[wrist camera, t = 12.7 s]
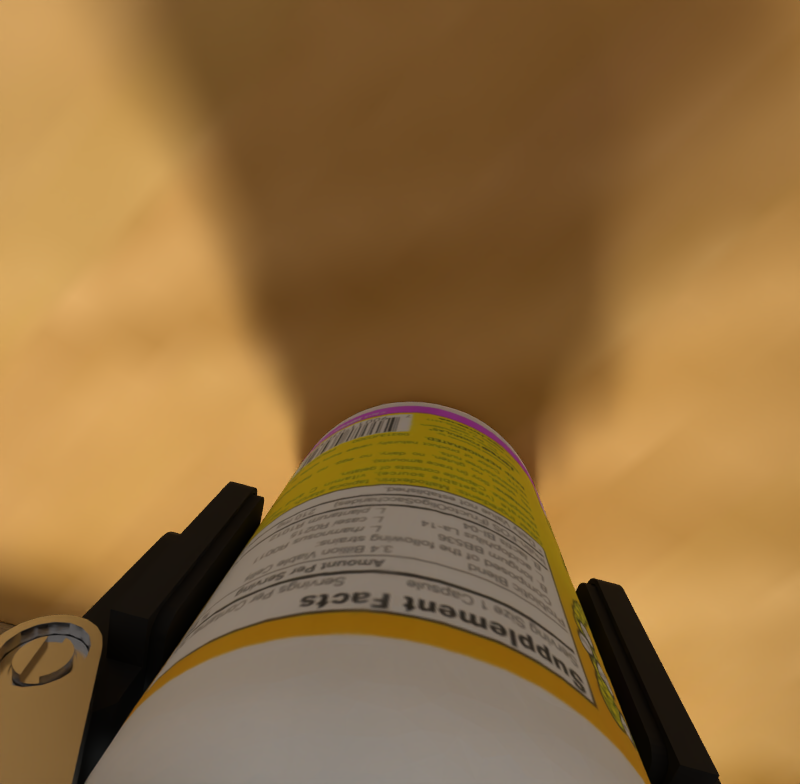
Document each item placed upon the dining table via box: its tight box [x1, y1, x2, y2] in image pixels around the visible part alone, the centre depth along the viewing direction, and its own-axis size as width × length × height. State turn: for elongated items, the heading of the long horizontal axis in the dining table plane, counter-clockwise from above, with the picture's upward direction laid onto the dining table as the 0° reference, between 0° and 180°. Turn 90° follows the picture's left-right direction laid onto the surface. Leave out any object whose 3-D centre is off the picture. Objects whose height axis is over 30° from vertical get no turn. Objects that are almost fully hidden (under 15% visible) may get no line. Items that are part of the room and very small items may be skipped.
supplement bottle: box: [84, 402, 651, 784], centre depth 8 cm, size 7×7×13 cm
